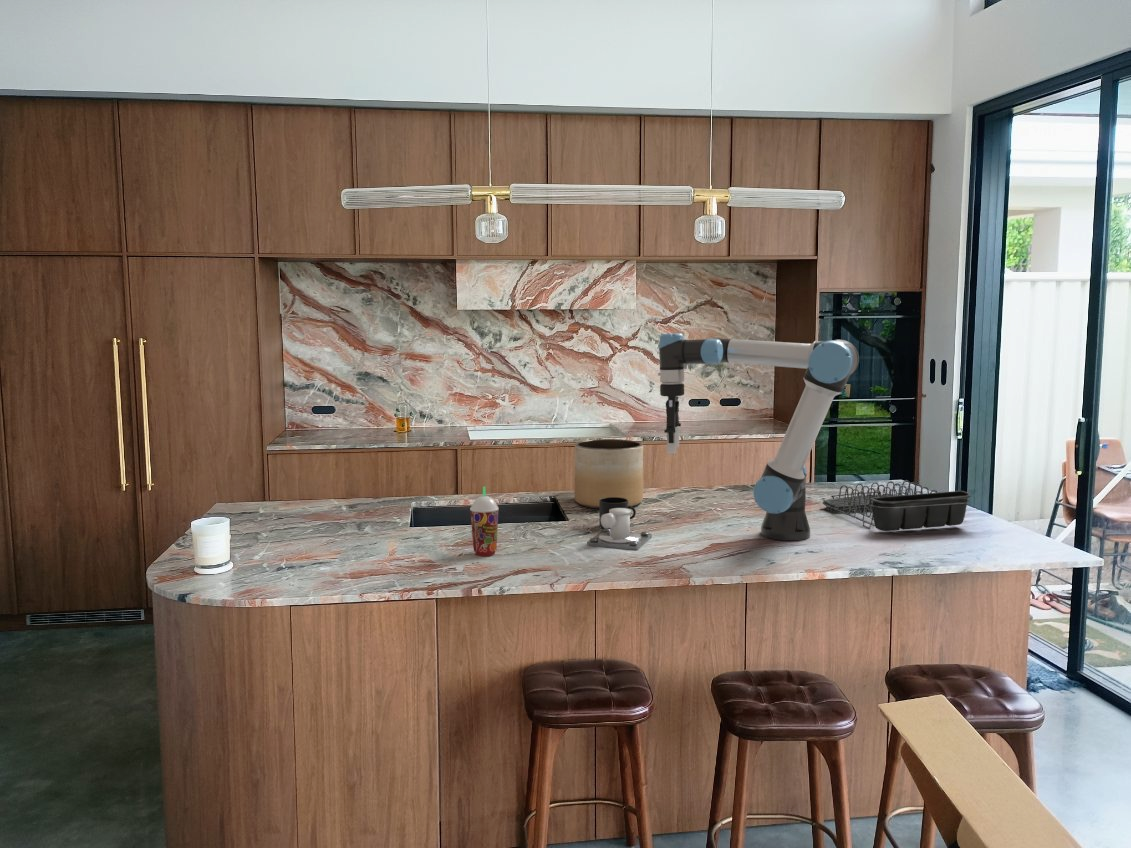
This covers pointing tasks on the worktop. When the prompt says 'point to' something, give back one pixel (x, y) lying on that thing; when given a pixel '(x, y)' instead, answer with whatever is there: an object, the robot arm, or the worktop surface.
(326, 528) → the worktop surface
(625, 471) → the planter
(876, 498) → the dish rack
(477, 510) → the smoothie
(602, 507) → the mug
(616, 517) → the elbow
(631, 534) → the duct flange
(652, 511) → the worktop surface
